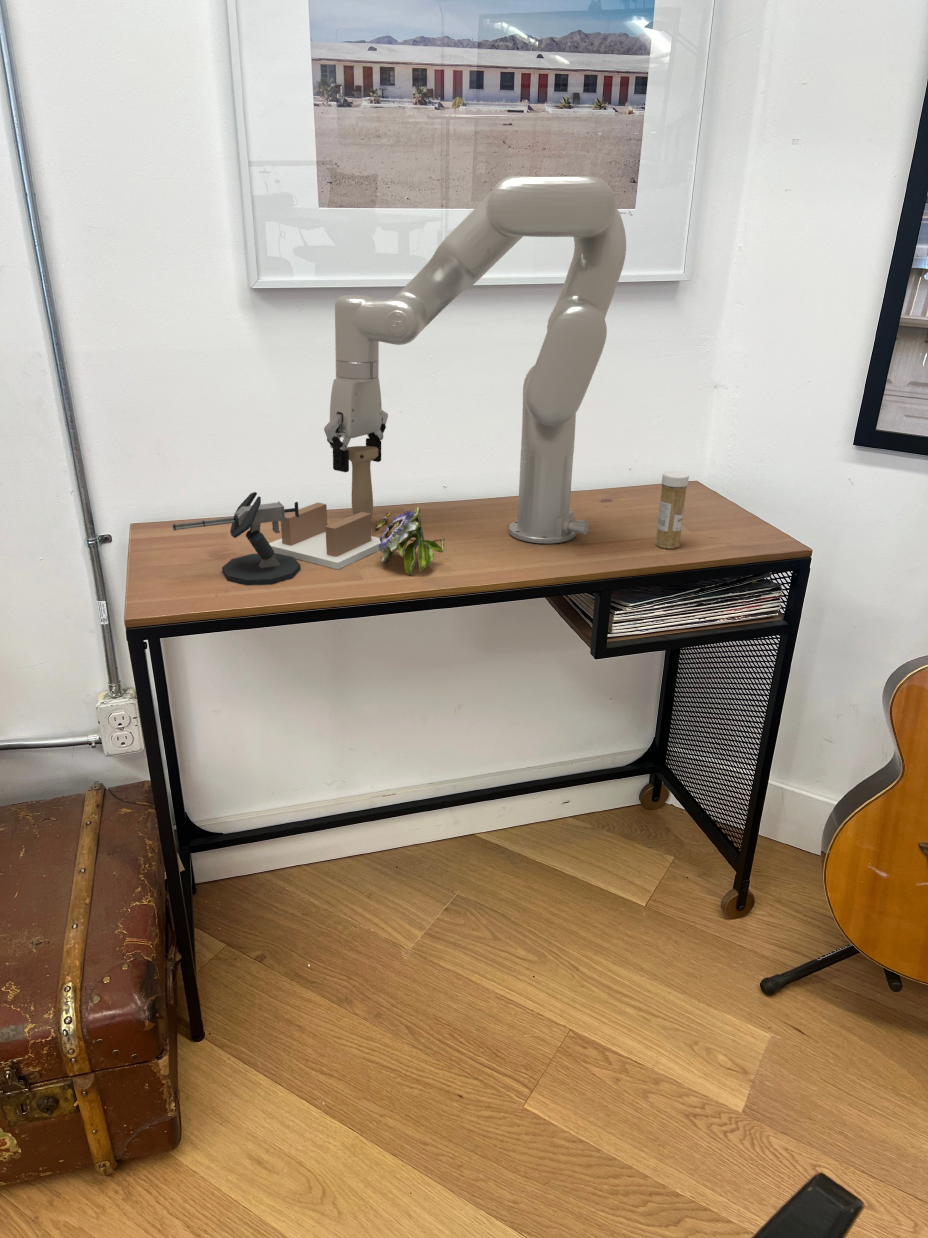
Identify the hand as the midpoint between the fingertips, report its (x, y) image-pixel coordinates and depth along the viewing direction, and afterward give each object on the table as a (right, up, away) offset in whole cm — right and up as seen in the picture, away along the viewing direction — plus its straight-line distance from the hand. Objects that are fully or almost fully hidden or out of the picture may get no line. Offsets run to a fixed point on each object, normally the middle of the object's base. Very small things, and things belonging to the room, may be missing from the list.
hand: (357, 465), depth 161 cm
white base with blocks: (-5, -16, -6) cm, 18 cm away
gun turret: (-17, -21, -18) cm, 32 cm away
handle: (0, -11, +5) cm, 12 cm away
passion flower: (+10, -19, -12) cm, 25 cm away
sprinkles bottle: (+57, -15, -1) cm, 59 cm away
